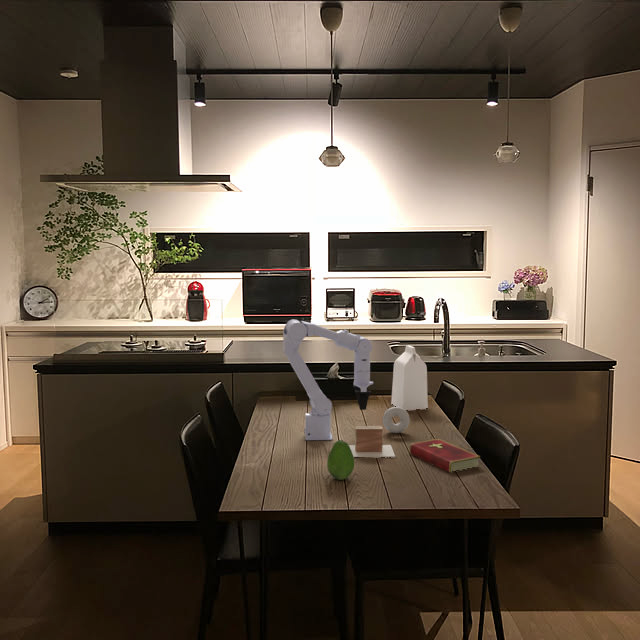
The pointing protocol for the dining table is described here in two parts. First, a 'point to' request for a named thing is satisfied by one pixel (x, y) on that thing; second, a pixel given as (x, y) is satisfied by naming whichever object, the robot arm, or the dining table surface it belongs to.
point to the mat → (386, 452)
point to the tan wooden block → (368, 438)
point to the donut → (402, 424)
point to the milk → (409, 381)
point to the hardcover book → (444, 455)
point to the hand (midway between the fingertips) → (361, 406)
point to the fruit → (340, 460)
